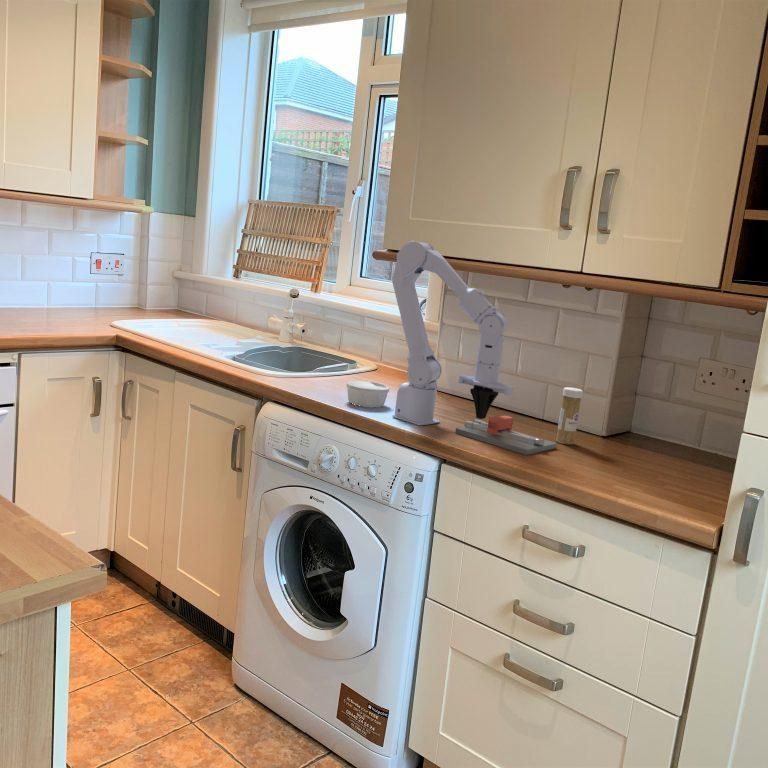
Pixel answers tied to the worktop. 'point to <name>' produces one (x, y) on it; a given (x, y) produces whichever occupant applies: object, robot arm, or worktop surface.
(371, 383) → the ramekin
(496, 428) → the red block
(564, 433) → the sprinkles bottle
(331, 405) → the worktop surface
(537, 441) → the tongs
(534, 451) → the slate board
